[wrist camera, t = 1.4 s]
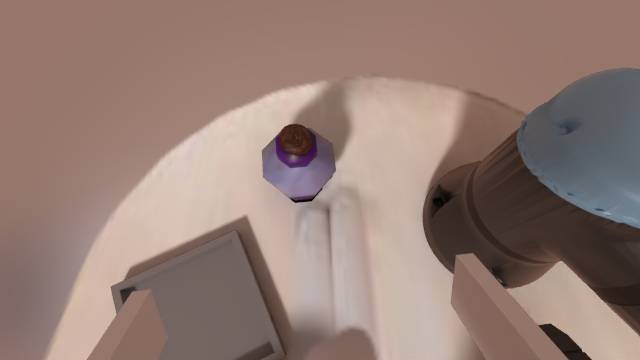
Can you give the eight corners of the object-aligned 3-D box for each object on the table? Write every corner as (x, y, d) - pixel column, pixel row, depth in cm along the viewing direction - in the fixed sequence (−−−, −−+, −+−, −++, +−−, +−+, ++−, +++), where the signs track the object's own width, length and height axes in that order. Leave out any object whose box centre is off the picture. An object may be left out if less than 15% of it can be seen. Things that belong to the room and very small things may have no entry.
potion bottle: (346, 195, 41) (356, 153, 30) (286, 226, 39) (273, 194, 28) (315, 143, 44) (313, 87, 33) (258, 170, 42) (236, 121, 31)
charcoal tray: (239, 233, 39) (235, 229, 37) (286, 354, 34) (284, 356, 32) (120, 287, 36) (110, 286, 35) (152, 426, 31) (142, 433, 30)
